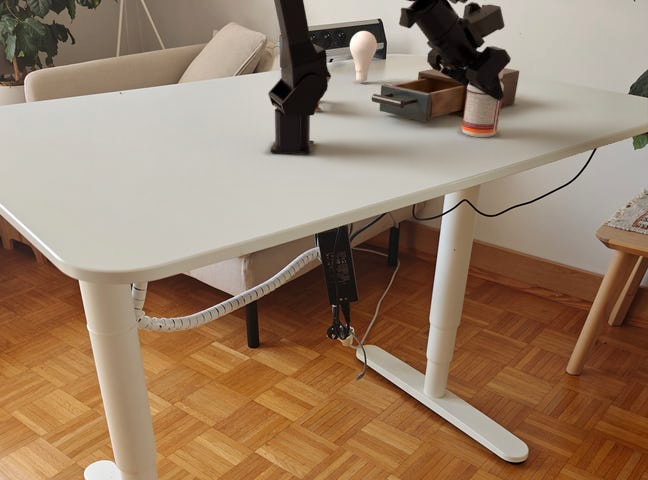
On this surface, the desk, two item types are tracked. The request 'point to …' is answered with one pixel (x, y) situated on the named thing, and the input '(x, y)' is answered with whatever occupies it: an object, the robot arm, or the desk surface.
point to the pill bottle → (481, 112)
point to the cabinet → (508, 82)
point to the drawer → (421, 98)
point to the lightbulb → (362, 53)
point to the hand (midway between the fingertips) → (491, 94)
